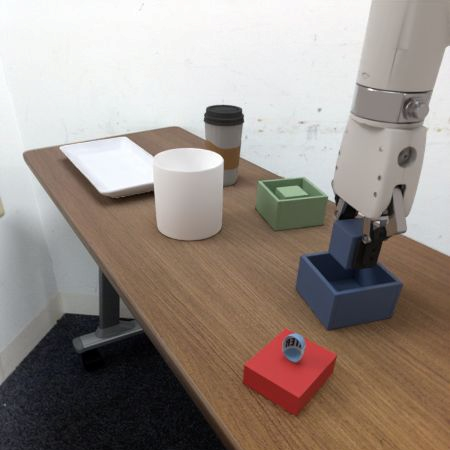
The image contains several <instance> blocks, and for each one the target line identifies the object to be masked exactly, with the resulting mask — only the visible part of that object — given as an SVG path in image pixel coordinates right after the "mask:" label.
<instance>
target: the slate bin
mask: <svg viewBox="0 0 450 450" xmlns="http://www.w3.org/2000/svg"><path fill="white" fill-rule="evenodd" d="M403 286H404V283H403V282H402V281H401V280H400V279H399V278H398V277H397V276H396V275H395V274H394V273H392V272H391V271H390V269H388V268H387V267H386V266H385V265H383V264H382V263H381V262H380V261H379V260H378V261H377V264H376V266H375V267H373V268H366V269H360V270H354V269H353V268H350V269H345V268H344V267H343V266H342V265H341V264H340V263H339V262H338V261H337V260H336V259H335V258H334V257H333V256H332V255H331V254H330V253H329V252H328V250H326V251H321V252H319V251H318V252H311V253H307V254H300V256H299V261H298V267H297V275H296V282H295V290H296V291H297V293H298V294H299V295H300V297H301V298H302V299H303V300H304V302H305V303H306V305H307V306H308V307H309V309H310V310H311V311H312V312H313V313H314V315H315V316H316V318H317V319H318V321H320V322H321V324H322V325H323V327H324V328H325V329H326V331H330V330H335V329H341V328H346V327H351V326H356V325H361V324H367V323H372V322H377V321H382V320H386V319H392V317H393V315H394V313H395V310H396V306H397V304H398V301H399V297H400V294H401V292H402V290H403V289H402V288H403Z"/></svg>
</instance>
